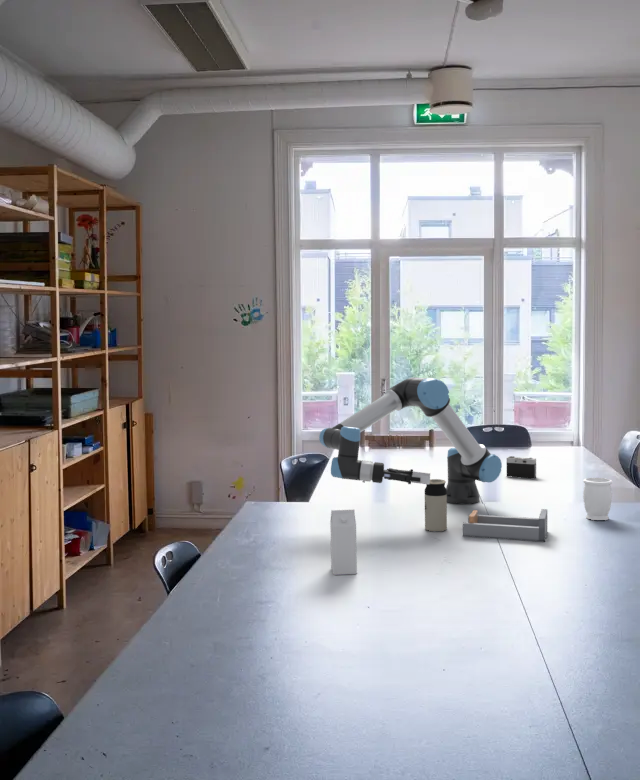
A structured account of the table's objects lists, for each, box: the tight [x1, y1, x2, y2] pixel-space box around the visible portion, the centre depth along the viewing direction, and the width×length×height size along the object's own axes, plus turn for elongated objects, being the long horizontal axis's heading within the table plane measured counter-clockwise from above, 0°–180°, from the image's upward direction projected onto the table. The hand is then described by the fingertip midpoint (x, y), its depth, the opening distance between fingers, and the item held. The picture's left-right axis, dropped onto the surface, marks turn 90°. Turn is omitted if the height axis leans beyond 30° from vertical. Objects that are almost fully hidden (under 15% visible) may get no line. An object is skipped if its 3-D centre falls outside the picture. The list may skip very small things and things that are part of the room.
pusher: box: [469, 509, 479, 523], centre depth 283 cm, size 10×2×6 cm, turn 161°
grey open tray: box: [462, 508, 548, 543], centre depth 279 cm, size 15×28×8 cm, turn 71°
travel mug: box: [424, 478, 448, 532], centre depth 287 cm, size 8×8×18 cm
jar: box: [582, 477, 613, 521], centre depth 299 cm, size 11×10×15 cm
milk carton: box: [329, 509, 358, 576], centre depth 238 cm, size 7×7×19 cm
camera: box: [506, 455, 537, 479], centre depth 389 cm, size 14×8×10 cm, turn 58°
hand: (430, 478), depth 288 cm, fingers open, 13 cm apart
